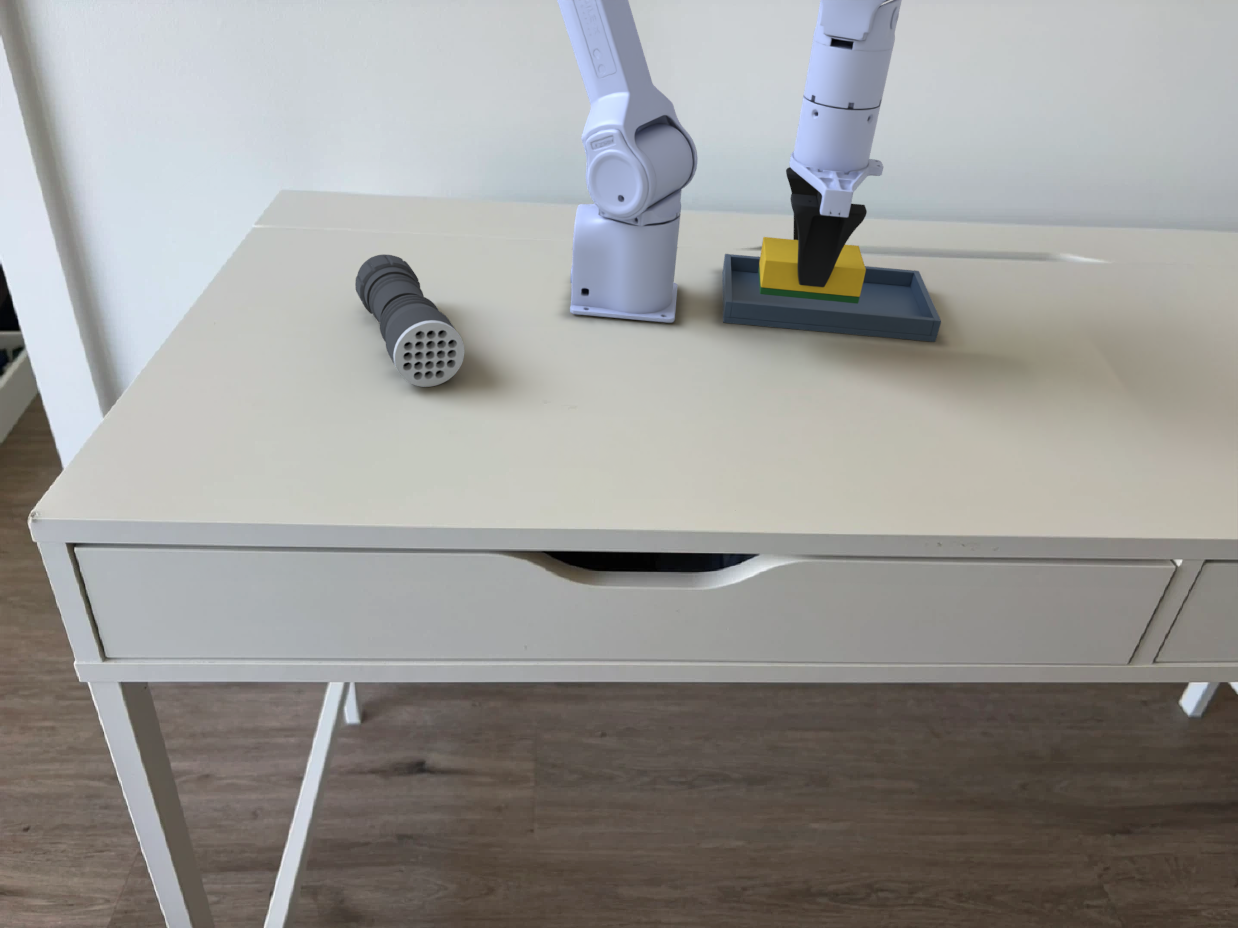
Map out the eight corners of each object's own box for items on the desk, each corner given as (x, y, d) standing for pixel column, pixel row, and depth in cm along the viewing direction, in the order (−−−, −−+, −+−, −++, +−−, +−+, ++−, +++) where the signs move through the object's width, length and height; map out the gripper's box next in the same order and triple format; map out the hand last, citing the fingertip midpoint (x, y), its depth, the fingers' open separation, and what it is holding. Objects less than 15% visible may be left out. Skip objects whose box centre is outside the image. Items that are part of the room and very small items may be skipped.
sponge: (759, 294, 76) (765, 259, 74) (758, 269, 80) (763, 236, 78) (858, 303, 75) (866, 269, 74) (851, 278, 79) (859, 245, 78)
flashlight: (354, 308, 82) (347, 251, 79) (414, 300, 85) (409, 243, 81) (397, 392, 71) (392, 328, 68) (465, 380, 73) (463, 318, 70)
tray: (722, 322, 84) (725, 301, 83) (722, 273, 94) (724, 253, 92) (935, 342, 84) (941, 321, 82) (913, 290, 93) (919, 270, 92)
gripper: (911, 131, 63) (868, 314, 71) (882, 81, 75) (848, 242, 82) (807, 122, 63) (775, 305, 71) (795, 73, 75) (769, 234, 83)
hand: (809, 270), depth 77 cm, fingers closed on sponge, 5 cm apart
